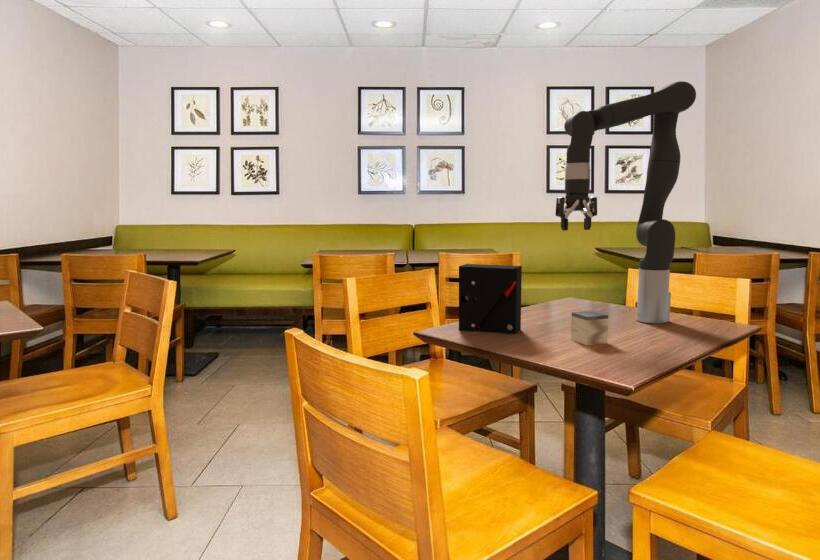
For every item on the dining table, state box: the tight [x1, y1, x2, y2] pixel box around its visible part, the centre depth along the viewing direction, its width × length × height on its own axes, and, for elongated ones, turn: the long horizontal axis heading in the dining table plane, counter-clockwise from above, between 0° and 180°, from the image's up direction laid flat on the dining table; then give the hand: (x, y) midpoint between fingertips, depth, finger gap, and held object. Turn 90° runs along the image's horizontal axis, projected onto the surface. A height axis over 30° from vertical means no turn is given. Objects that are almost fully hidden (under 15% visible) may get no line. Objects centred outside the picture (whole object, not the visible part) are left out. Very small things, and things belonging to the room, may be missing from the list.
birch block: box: [570, 310, 609, 346], centre depth 155 cm, size 7×7×8 cm
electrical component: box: [458, 263, 523, 335], centre depth 170 cm, size 18×10×20 cm, turn 65°
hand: (576, 230), depth 175 cm, fingers open, 8 cm apart
